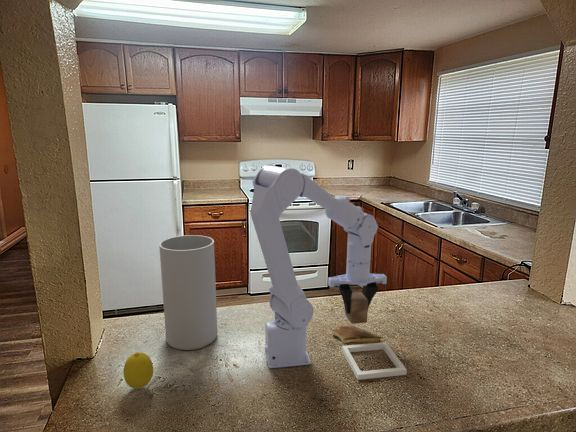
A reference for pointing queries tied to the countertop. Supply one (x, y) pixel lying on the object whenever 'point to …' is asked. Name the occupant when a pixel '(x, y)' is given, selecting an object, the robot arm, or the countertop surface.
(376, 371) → the white flat square frame
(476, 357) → the countertop surface
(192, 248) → the cylinder vase
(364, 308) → the walnut block
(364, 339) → the shard
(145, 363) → the lemon
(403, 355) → the countertop surface
